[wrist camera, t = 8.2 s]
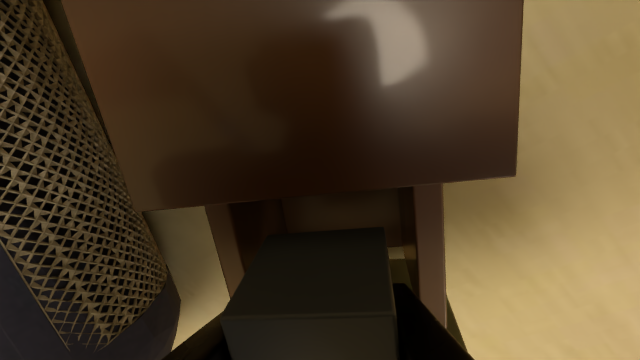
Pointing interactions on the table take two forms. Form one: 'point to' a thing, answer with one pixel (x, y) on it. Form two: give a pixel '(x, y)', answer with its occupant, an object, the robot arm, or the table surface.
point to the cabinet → (301, 94)
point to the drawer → (347, 213)
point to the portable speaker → (68, 216)
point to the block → (315, 299)
